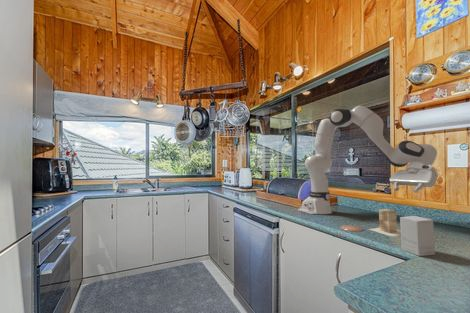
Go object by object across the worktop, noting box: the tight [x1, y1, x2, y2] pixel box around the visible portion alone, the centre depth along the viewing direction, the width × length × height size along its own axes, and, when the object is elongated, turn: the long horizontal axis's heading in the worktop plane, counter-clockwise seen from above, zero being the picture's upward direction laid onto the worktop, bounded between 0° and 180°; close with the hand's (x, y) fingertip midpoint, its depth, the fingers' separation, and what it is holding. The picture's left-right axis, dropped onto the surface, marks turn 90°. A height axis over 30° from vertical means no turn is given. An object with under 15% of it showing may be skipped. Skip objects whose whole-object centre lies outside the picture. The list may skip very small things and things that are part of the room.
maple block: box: [378, 208, 398, 233], centre depth 112 cm, size 5×5×10 cm
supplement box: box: [399, 215, 436, 257], centre depth 87 cm, size 7×7×13 cm
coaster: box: [340, 224, 364, 233], centre depth 117 cm, size 10×10×1 cm
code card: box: [368, 227, 401, 237], centre depth 111 cm, size 12×12×1 cm
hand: (404, 190), depth 116 cm, fingers open, 8 cm apart
